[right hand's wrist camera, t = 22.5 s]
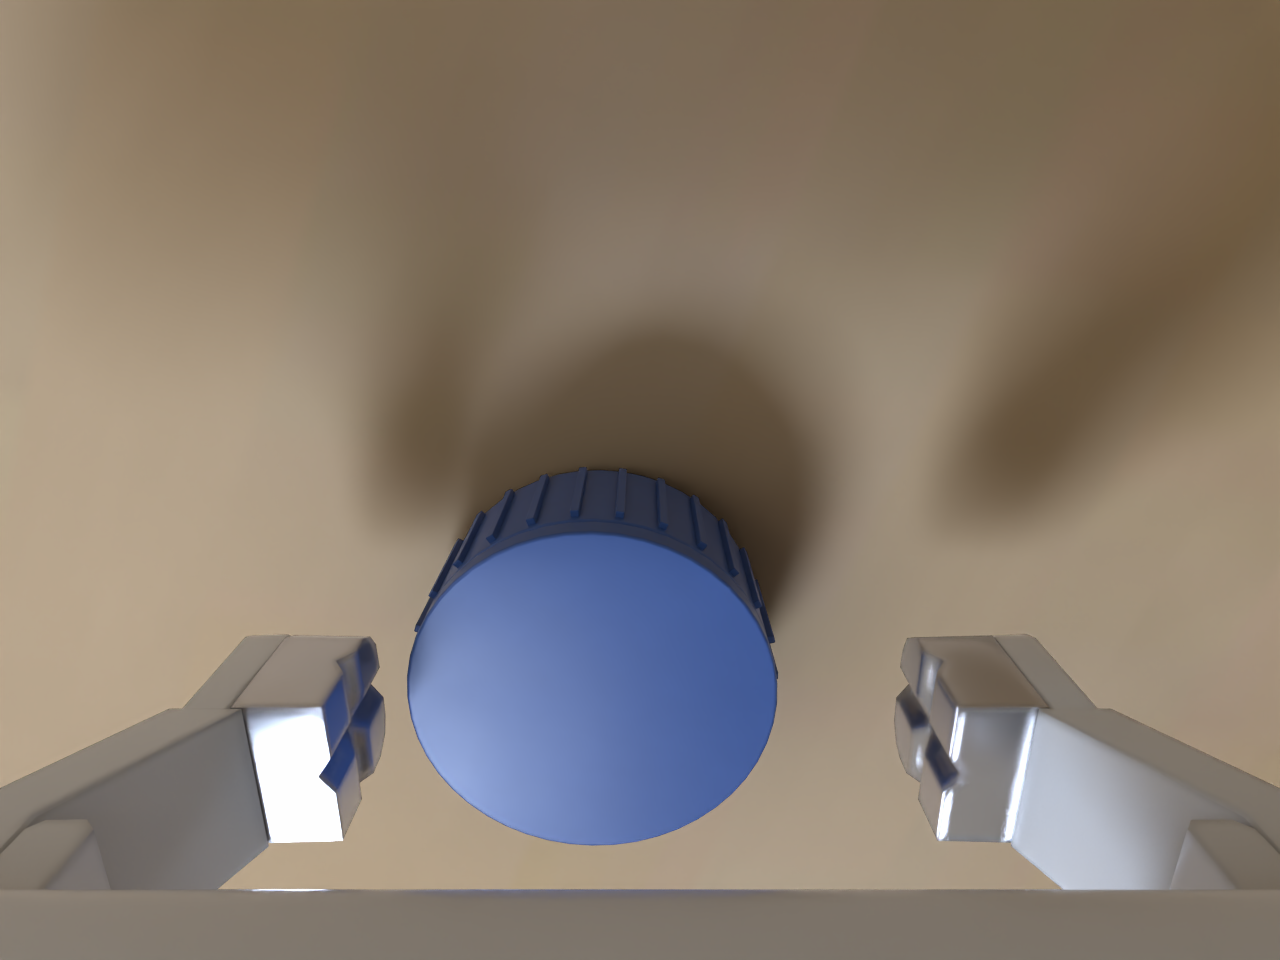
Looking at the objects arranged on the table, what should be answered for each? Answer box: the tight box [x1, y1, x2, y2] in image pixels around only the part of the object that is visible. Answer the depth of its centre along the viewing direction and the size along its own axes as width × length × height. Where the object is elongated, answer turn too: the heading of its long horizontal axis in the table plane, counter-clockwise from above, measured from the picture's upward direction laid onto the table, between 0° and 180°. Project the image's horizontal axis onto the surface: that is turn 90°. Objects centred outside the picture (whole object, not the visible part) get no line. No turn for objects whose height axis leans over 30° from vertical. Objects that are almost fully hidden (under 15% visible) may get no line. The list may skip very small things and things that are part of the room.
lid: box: [407, 467, 778, 845], centre depth 11 cm, size 5×5×2 cm
